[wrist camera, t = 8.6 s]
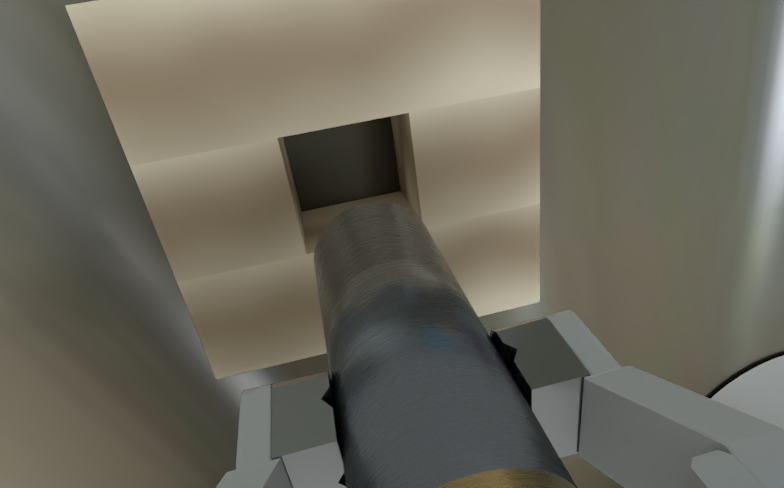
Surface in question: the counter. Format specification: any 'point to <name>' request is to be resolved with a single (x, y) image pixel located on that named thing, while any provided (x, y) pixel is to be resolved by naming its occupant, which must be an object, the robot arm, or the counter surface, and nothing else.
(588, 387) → the robot arm
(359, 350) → the grey and gold cylinder
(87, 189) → the counter surface
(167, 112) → the block
